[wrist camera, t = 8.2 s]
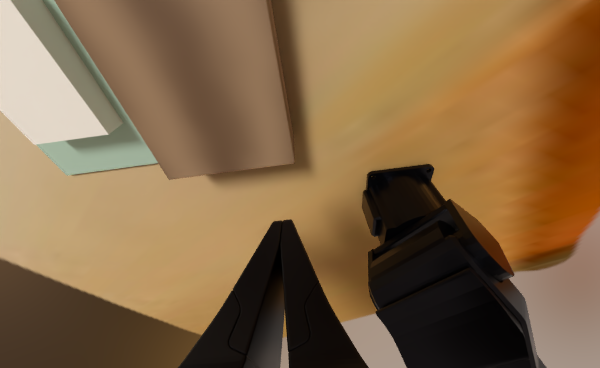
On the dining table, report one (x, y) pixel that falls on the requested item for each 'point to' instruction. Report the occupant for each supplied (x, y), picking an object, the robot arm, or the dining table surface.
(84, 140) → the mat
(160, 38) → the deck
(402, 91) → the dining table surface
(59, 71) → the white block
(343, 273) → the dining table surface
